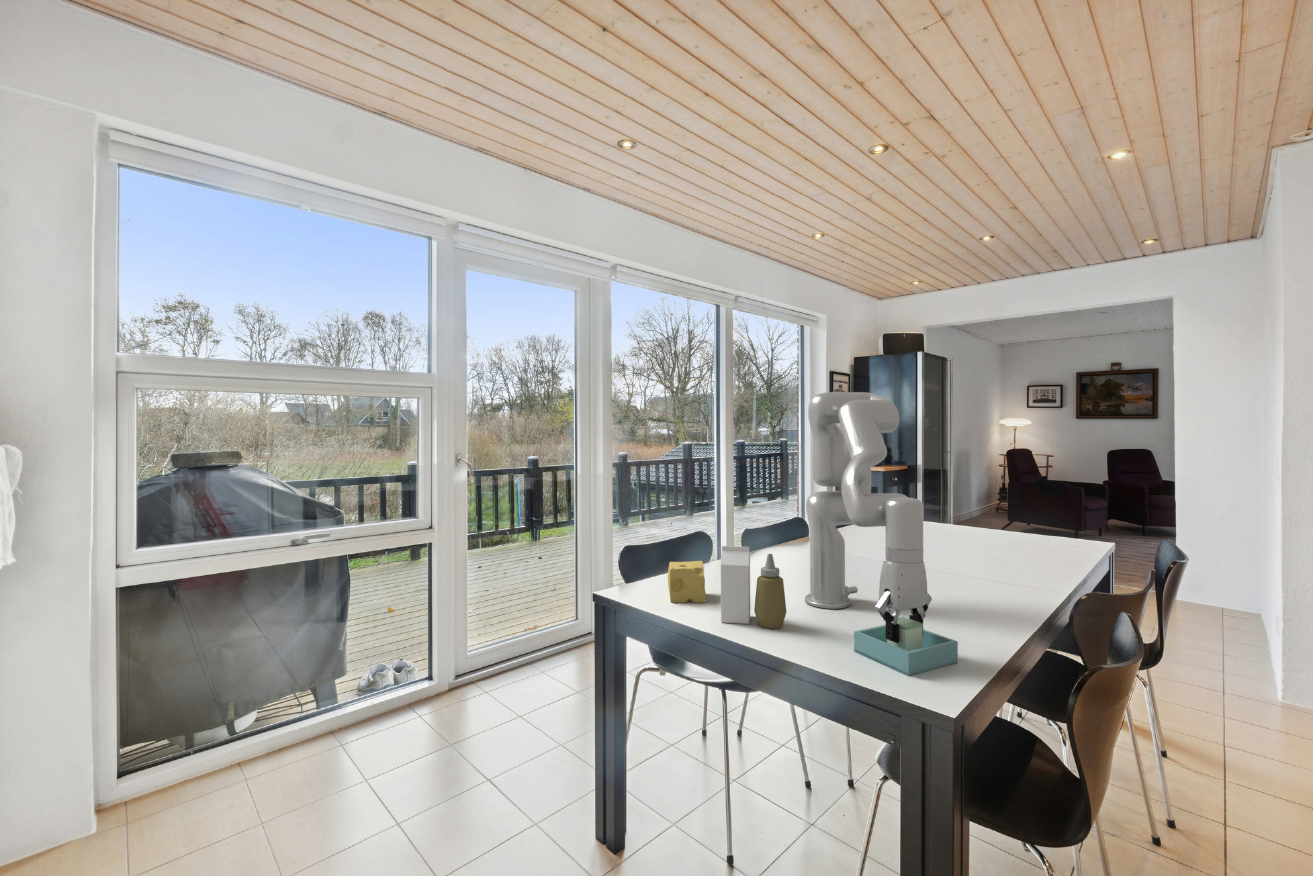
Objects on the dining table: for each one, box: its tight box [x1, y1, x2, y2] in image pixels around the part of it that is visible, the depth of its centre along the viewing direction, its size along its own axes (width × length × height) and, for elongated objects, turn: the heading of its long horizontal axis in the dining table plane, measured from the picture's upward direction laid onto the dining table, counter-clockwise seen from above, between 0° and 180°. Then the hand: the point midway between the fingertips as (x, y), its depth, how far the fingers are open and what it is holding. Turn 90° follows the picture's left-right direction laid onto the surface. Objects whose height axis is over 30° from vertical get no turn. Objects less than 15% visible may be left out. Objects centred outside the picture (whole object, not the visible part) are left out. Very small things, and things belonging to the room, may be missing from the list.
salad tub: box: [887, 616, 924, 651], centre depth 127 cm, size 5×5×7 cm
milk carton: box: [720, 545, 751, 625], centre depth 153 cm, size 7×7×19 cm
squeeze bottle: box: [753, 553, 787, 629], centre depth 148 cm, size 8×8×18 cm
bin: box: [853, 624, 959, 677], centre depth 127 cm, size 15×15×4 cm
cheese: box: [667, 560, 707, 604], centre depth 173 cm, size 10×11×10 cm
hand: (904, 637), depth 127 cm, fingers open, 6 cm apart
